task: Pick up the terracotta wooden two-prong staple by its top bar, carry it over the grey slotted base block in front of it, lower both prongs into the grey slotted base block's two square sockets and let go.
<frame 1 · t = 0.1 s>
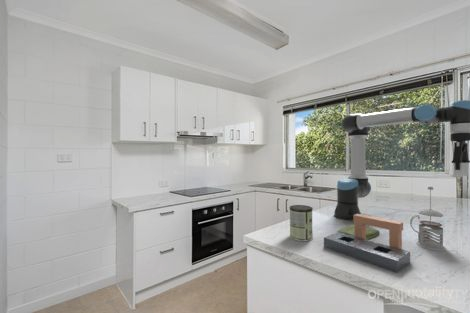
hand: (461, 176, 111), 28 cm above the counter, tool pointing down, fingers open, 13 cm apart
french press: (427, 246, 96), on the counter
washcloth: (358, 235, 110), on the counter
staple: (377, 247, 94), on the counter
coffee can: (300, 237, 106), on the counter
grey slotted base block: (363, 254, 87), on the counter
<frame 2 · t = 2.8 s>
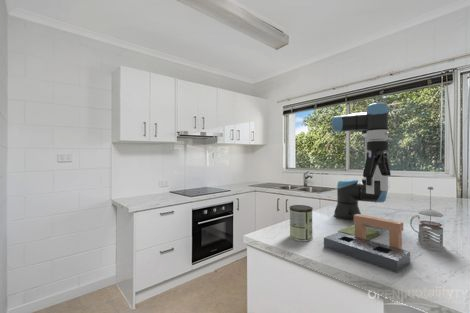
hand: (377, 192, 94), 23 cm above the counter, tool pointing down, fingers open, 13 cm apart
nothing on the counter moved.
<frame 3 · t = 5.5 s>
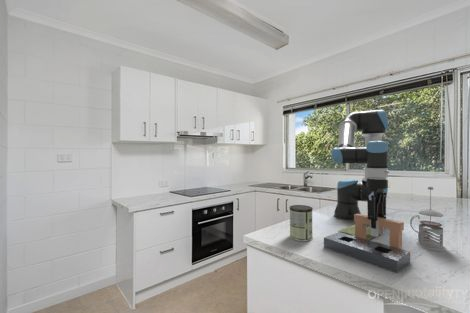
hand: (377, 234, 94), 5 cm above the counter, tool pointing down, fingers closed on staple, 4 cm apart
staple: (377, 247, 94), on the counter, touching gripper
everything else where it was.
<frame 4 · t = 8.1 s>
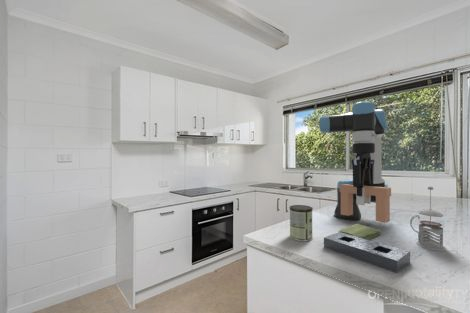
hand: (363, 203, 87), 19 cm above the counter, tool pointing down, fingers closed on staple, 4 cm apart
staple: (363, 217, 87), point 14 cm above the counter, touching gripper
everything else where it was.
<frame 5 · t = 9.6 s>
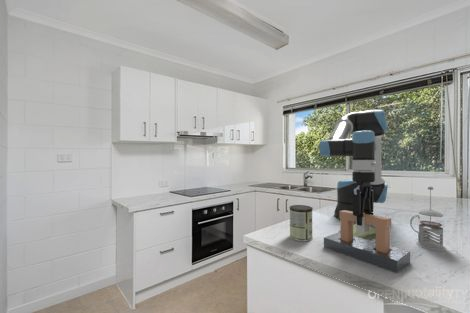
hand: (363, 232, 87), 9 cm above the counter, tool pointing down, fingers closed on staple, 4 cm apart
staple: (363, 246, 87), point 3 cm above the counter, touching gripper
everything else where it was.
when the fingers open (7 cm above the counter, at t = 10.9 s): staple drops 1 cm, resting in grey slotted base block.
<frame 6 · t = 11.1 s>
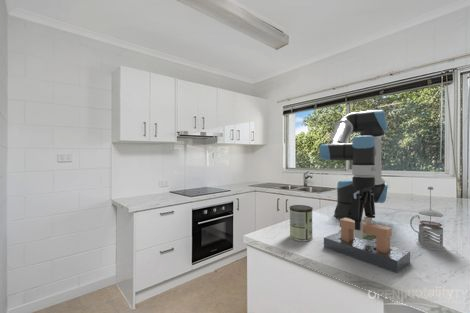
hand: (363, 236, 87), 7 cm above the counter, tool pointing down, fingers open, 7 cm apart
staple: (364, 254, 87), resting in grey slotted base block
everything else where it was.
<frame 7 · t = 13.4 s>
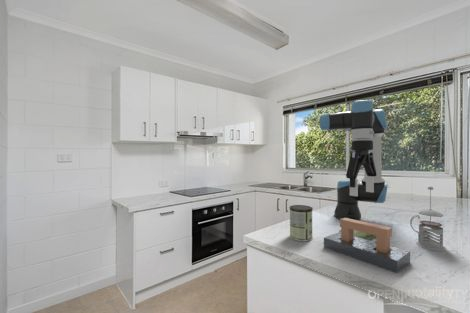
hand: (362, 193, 90), 23 cm above the counter, tool pointing down, fingers open, 13 cm apart
nothing on the counter moved.
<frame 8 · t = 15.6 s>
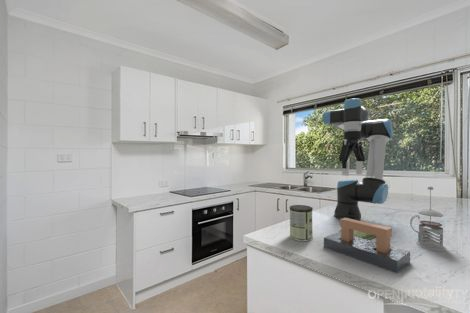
hand: (352, 174, 110), 29 cm above the counter, tool pointing down, fingers open, 13 cm apart
nothing on the counter moved.
at the end: staple 0.3 cm off-centre on the grey slotted base block, point 0.0 cm above the grey slotted base block's base; staple tilted 0°; the gripper is holding nothing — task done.
